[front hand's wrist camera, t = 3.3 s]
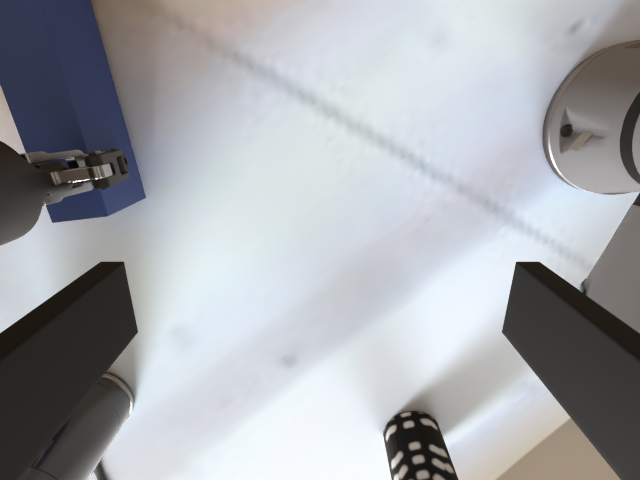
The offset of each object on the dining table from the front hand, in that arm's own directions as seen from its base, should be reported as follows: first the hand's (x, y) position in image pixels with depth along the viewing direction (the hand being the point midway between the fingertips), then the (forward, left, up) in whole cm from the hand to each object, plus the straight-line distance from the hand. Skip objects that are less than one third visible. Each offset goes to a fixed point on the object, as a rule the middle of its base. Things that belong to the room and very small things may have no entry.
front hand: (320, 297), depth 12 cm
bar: (+8, -24, -29) cm, 39 cm away
